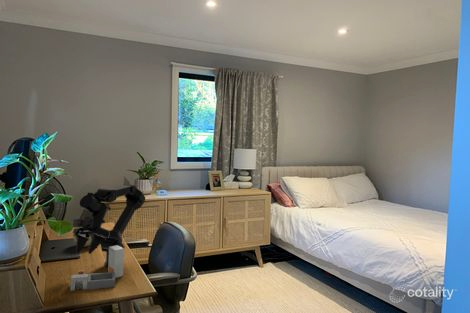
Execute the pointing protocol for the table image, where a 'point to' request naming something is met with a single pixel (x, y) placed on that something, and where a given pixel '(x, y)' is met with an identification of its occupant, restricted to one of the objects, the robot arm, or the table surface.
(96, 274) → the socket
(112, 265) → the skincare box
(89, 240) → the fossilized egg
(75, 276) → the pin mount
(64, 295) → the table surface
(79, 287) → the lock pin
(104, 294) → the table surface
